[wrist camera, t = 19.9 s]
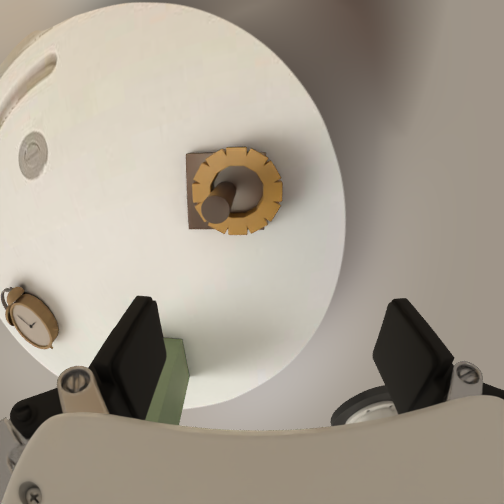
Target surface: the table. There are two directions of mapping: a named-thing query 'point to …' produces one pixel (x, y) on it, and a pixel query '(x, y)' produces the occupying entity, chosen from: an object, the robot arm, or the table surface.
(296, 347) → the table surface
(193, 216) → the peg stand
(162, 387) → the sage green upright pillar
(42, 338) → the alarm clock
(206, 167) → the brass ring
